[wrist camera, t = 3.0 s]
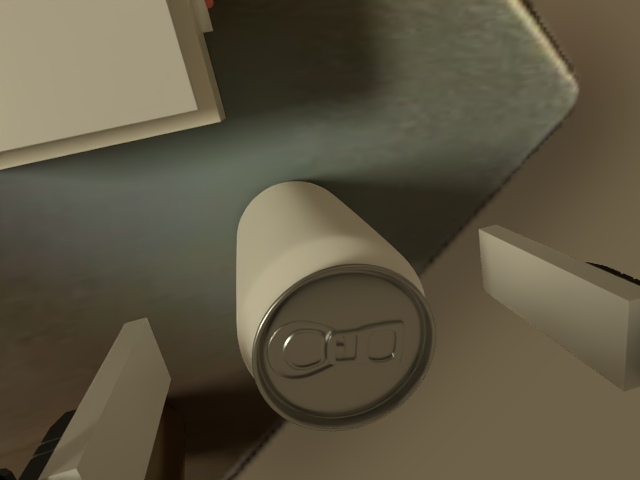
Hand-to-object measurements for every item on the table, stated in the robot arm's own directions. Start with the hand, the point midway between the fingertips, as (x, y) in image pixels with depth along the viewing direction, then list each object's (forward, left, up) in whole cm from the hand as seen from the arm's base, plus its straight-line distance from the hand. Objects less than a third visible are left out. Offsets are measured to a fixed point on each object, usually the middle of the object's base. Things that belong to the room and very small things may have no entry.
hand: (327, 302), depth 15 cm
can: (0, 0, -8) cm, 8 cm away
